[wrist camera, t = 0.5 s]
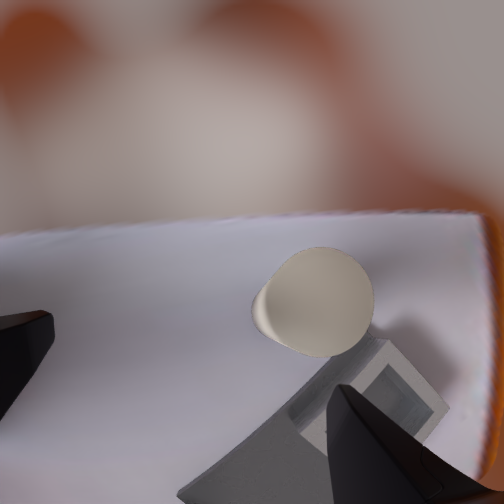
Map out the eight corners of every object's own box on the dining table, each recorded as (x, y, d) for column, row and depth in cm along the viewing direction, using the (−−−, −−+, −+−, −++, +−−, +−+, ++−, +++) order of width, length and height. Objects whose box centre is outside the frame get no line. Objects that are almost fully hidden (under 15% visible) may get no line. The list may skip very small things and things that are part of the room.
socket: (268, 551, 19) (273, 575, 15) (178, 491, 20) (170, 514, 16) (431, 404, 23) (456, 413, 19) (358, 327, 24) (380, 327, 20)
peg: (280, 351, 23) (323, 379, 12) (239, 310, 24) (244, 301, 12) (319, 310, 24) (393, 300, 12) (280, 270, 25) (321, 225, 13)
